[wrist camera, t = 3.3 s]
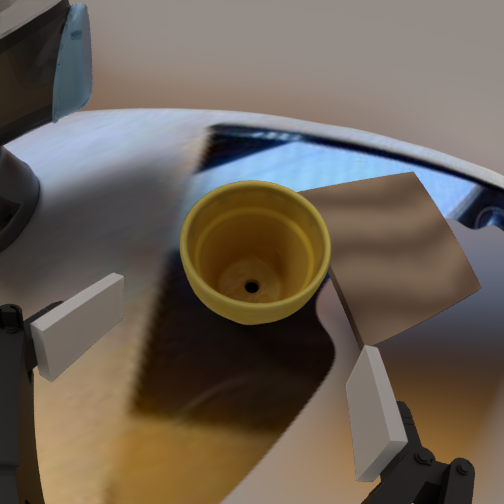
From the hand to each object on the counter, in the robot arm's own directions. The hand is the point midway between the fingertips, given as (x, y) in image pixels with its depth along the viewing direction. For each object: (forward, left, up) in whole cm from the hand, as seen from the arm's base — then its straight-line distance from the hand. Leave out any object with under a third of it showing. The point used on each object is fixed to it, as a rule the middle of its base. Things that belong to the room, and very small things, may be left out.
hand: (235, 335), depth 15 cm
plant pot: (-6, +3, -12) cm, 14 cm away
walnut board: (-6, +20, -12) cm, 24 cm away
